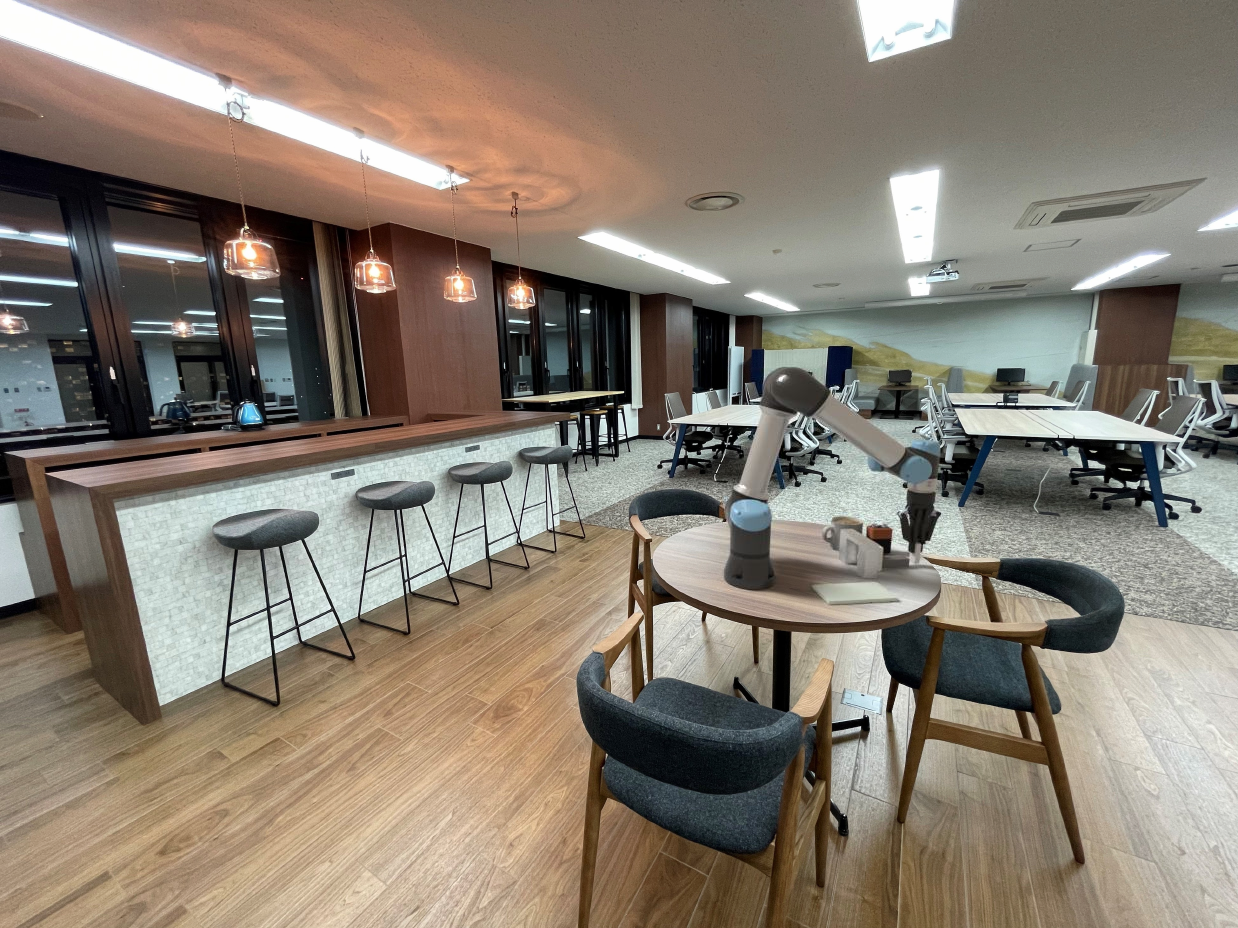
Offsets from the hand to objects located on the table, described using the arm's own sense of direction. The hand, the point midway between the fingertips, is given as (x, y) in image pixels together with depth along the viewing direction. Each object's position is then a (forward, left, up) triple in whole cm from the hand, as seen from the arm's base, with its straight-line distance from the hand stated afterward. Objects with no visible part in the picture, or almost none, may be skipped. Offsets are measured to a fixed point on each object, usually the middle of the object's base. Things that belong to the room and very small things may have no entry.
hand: (914, 561), depth 150 cm
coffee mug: (-15, +18, -1) cm, 23 cm away
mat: (-29, -17, -1) cm, 34 cm away
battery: (-5, +12, -1) cm, 13 cm away
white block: (-9, 0, -1) cm, 9 cm away
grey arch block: (-19, 0, -1) cm, 19 cm away
